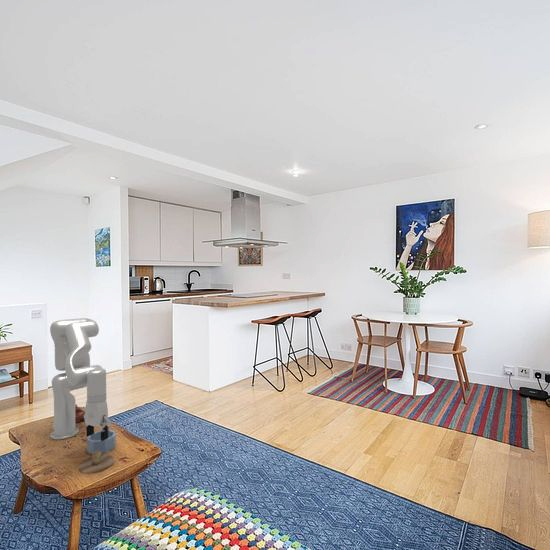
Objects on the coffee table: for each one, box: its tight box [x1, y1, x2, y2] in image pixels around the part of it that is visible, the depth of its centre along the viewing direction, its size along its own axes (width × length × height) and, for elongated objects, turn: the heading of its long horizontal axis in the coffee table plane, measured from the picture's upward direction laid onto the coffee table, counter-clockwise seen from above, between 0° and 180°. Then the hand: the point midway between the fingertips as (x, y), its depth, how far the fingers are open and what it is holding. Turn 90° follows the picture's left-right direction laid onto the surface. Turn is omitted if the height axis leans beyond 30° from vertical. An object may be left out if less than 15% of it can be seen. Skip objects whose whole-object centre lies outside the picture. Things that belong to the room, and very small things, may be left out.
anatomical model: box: [75, 403, 86, 424], centre depth 198 cm, size 11×13×15 cm
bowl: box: [86, 429, 117, 455], centre depth 166 cm, size 12×12×6 cm
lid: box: [77, 450, 115, 475], centre depth 152 cm, size 14×14×6 cm
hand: (97, 437), depth 151 cm, fingers open, 9 cm apart
